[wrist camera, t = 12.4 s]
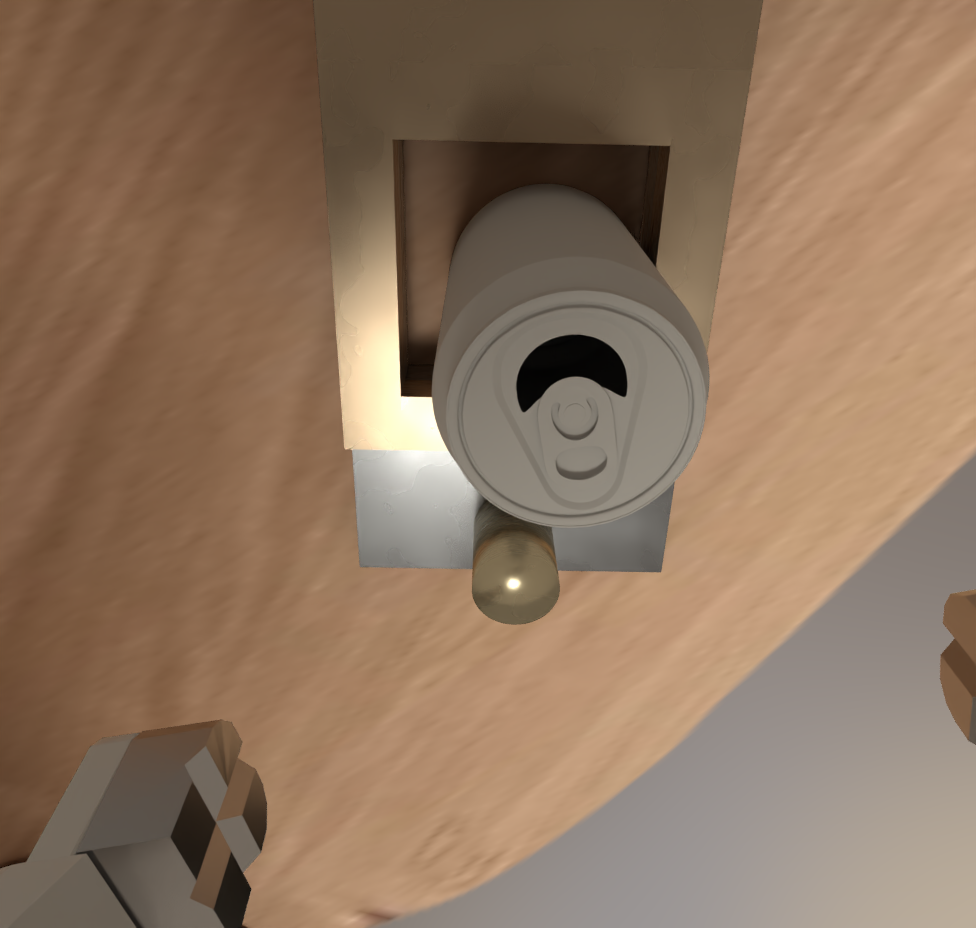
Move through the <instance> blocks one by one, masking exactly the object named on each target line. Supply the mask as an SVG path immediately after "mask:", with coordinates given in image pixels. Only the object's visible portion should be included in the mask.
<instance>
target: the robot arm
mask: <svg viewBox="0 0 976 928" xmlns="http://www.w3.org/2000/svg"><path fill="white" fill-rule="evenodd" d="M943 624H944V625H945V627H946V628H947V629H948V630H949V632H950V633H951V634H952V635H953V637H954V638H955V639H954V640H953V641H952V642H951V643H950V645H949V646H948V647H947V648H946V649H945V650H944V652H943V653H942V654H941V660H940V680H941V684H942V688H943V692H944V696H945V700H946V703H947V706H948V708H949V710H950V712H951V714H952V716H953V718H954V720H955V722H956V723H957V725H958V726H959V728H960V729H961V731H962V732H963V733H964V735H965V736H966V738H967V739H968V740H969V741H970V742H972V743H974V744H975V745H976V589H975V590H970V591H964V592H958V593H953V594H950V596H949V598H948V600H947V601H946V603H945V606H944V617H943ZM241 745H242V740H241V738H240V737H239V735H238V733H237V731H236V729H235V727H234V726H233V724H232V722H229V721H225V720H215V721H208V722H202V723H195V724H188V725H181V726H174V727H168V728H161V729H154V730H147V731H142V732H141V733H133V734H126V735H119V736H112V737H105V738H102V739H100V740H99V741H97V742H96V743H95V744H93V745H92V746H90V748H89V750H88V751H87V753H86V755H85V757H84V759H83V760H82V762H81V764H80V766H79V768H78V769H77V771H76V773H75V775H74V777H73V778H72V780H71V782H70V784H69V786H68V787H67V789H66V791H65V793H64V795H63V796H62V798H61V800H60V802H59V804H58V806H57V807H56V809H55V811H54V813H53V815H52V816H51V818H50V820H49V822H48V824H47V825H46V827H45V829H44V831H43V833H42V834H41V836H40V838H39V840H38V842H37V843H36V845H35V847H34V849H33V851H32V852H31V854H30V856H29V858H28V860H27V861H26V862H24V863H19V864H14V865H10V866H7V867H3V868H0V928H241V926H242V922H243V919H244V915H245V911H246V907H247V904H248V900H249V896H250V892H251V887H250V885H249V884H248V882H247V880H246V878H245V876H244V874H243V872H244V871H245V870H246V869H247V868H248V867H249V866H250V864H251V863H252V862H253V861H254V860H255V859H256V858H257V856H258V855H259V854H260V853H261V850H262V846H263V842H264V838H265V834H266V830H267V801H266V797H265V792H264V788H263V784H262V782H261V779H260V777H259V775H258V773H257V771H256V769H255V768H253V767H251V766H250V765H248V764H246V763H245V762H243V761H241V760H240V759H238V755H239V752H240V749H241Z"/></svg>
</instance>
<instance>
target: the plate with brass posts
mask: <svg viewBox="0 0 976 928" xmlns="http://www.w3.org/2000/svg"><path fill="white" fill-rule="evenodd" d="M762 3H763V0H313V7H314V21H315V35H316V50H317V64H318V78H319V93H320V107H321V121H322V135H323V150H324V164H325V178H326V193H327V207H328V221H329V236H330V250H331V264H332V279H333V293H334V307H335V322H336V336H337V350H338V365H339V379H340V393H341V408H342V422H343V436H344V449H352V454H353V470H354V485H355V501H356V516H357V531H358V547H359V562H360V567H389V568H446V569H473V572H472V594H473V599H474V601H475V603H476V605H477V607H478V608H479V609H480V610H481V611H482V612H483V613H484V614H485V615H486V616H488V617H489V618H491V619H493V620H495V621H498V622H501V623H505V624H514V625H516V624H526V623H530V622H533V621H536V620H538V619H540V618H541V617H543V616H545V615H546V614H547V613H548V612H549V611H550V610H551V609H552V608H553V607H554V605H555V604H556V602H557V600H558V597H559V592H560V584H559V577H558V570H561V571H619V572H661V569H662V563H663V556H664V549H665V543H666V536H667V530H668V523H669V516H670V510H671V503H672V496H673V490H674V483H675V482H674V483H673V484H672V485H671V486H670V487H669V488H668V489H667V490H666V491H665V492H664V493H662V494H661V495H660V496H659V497H658V498H656V499H655V500H653V501H652V502H651V503H649V504H648V505H646V506H644V507H643V508H641V509H639V510H638V511H636V512H634V513H632V514H630V515H628V516H625V517H623V518H620V519H617V520H615V521H612V522H608V523H604V524H600V525H595V526H590V527H578V528H560V527H550V526H544V525H539V524H535V523H532V522H528V521H525V520H522V519H520V518H517V517H515V516H513V515H510V514H508V513H506V512H505V511H503V510H501V509H499V508H498V507H496V506H495V505H493V504H492V503H490V502H489V501H488V500H487V499H485V498H484V497H483V496H482V495H481V494H480V493H479V492H478V491H477V490H476V489H475V488H474V487H473V486H472V485H471V484H470V482H469V481H468V480H467V478H466V477H465V476H464V474H463V472H462V471H461V469H460V467H459V466H458V464H457V463H456V462H455V460H454V459H453V457H452V456H451V454H450V453H449V451H448V449H447V448H446V446H445V444H444V442H443V440H442V438H441V435H440V432H439V430H438V427H437V424H436V420H435V417H434V411H433V403H432V378H433V370H434V365H409V364H408V326H407V288H406V250H405V212H404V174H403V140H440V141H483V142H526V143H568V144H611V145H650V153H649V162H648V171H647V181H646V190H645V199H644V208H643V217H642V226H641V235H640V245H639V246H640V247H641V249H642V250H643V251H644V253H645V254H646V255H647V257H648V258H649V259H650V261H651V262H652V263H653V265H654V266H655V267H656V269H657V270H658V271H659V273H660V274H661V275H662V277H663V278H664V279H665V281H666V282H667V283H668V285H669V286H670V287H671V289H672V290H673V291H674V293H675V294H676V295H677V297H678V298H679V299H680V301H681V302H682V303H683V305H684V306H685V307H686V309H687V310H688V312H689V313H690V315H691V316H692V318H693V320H694V322H695V323H696V325H697V327H698V329H699V331H700V334H701V337H702V339H703V342H704V345H705V349H706V353H707V350H708V344H709V338H710V331H711V325H712V319H713V312H714V306H715V300H716V294H717V287H718V281H719V275H720V268H721V262H722V256H723V249H724V243H725V237H726V230H727V224H728V218H729V211H730V205H731V199H732V193H733V186H734V180H735V174H736V167H737V161H738V155H739V148H740V142H741V136H742V129H743V123H744V117H745V111H746V104H747V98H748V92H749V85H750V79H751V73H752V66H753V60H754V54H755V47H756V41H757V35H758V29H759V22H760V16H761V10H762Z"/></svg>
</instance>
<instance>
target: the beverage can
mask: <svg viewBox="0 0 976 928" xmlns="http://www.w3.org/2000/svg"><path fill="white" fill-rule="evenodd" d="M708 392H709V365H708V357H707V353H706V349H705V345H704V342H703V339H702V337H701V334H700V331H699V329H698V327H697V325H696V323H695V322H694V320H693V318H692V316H691V315H690V313H689V312H688V310H687V309H686V307H685V306H684V305H683V303H682V302H681V301H680V299H679V298H678V297H677V295H676V294H675V293H674V291H673V290H672V289H671V287H670V286H669V285H668V283H667V282H666V281H665V279H664V278H663V277H662V275H661V274H660V273H659V271H658V270H657V269H656V267H655V266H654V265H653V263H652V262H651V261H650V259H649V258H648V257H647V255H646V254H645V253H644V251H643V250H642V249H641V247H640V246H639V245H638V243H637V242H636V241H635V239H634V238H633V237H632V235H631V234H630V233H629V231H628V230H627V229H626V227H625V226H624V224H623V223H622V222H621V221H620V219H619V218H618V217H617V216H616V215H615V213H614V212H613V211H612V210H611V209H610V208H609V207H608V206H606V205H605V204H604V203H603V202H601V201H600V200H599V199H597V198H596V197H594V196H592V195H590V194H588V193H585V192H583V191H580V190H578V189H575V188H572V187H569V186H565V185H558V184H534V185H528V186H524V187H520V188H517V189H513V190H511V191H508V192H506V193H504V194H502V195H500V196H498V197H497V198H495V199H494V200H492V201H491V202H489V203H488V204H487V205H485V206H484V207H483V208H482V209H481V210H480V211H479V212H478V213H477V214H476V215H475V216H474V217H473V218H472V219H471V220H470V222H469V223H468V224H467V226H466V227H465V229H464V230H463V232H462V234H461V236H460V238H459V240H458V242H457V244H456V247H455V249H454V252H453V256H452V260H451V264H450V270H449V276H448V283H447V289H446V295H445V301H444V307H443V314H442V320H441V326H440V332H439V339H438V345H437V351H436V357H435V364H434V370H433V378H432V403H433V411H434V417H435V420H436V424H437V427H438V430H439V432H440V435H441V438H442V440H443V442H444V444H445V446H446V448H447V449H448V451H449V453H450V454H451V456H452V457H453V459H454V460H455V462H456V463H457V464H458V466H459V467H460V469H461V471H462V472H463V474H464V476H465V477H466V478H467V480H468V481H469V482H470V484H471V485H472V486H473V487H474V488H475V489H476V490H477V491H478V492H479V493H480V494H481V495H482V496H483V497H484V498H485V499H487V500H488V501H489V502H490V503H492V504H493V505H495V506H496V507H498V508H499V509H501V510H503V511H505V512H506V513H508V514H510V515H513V516H515V517H517V518H520V519H522V520H525V521H528V522H532V523H535V524H539V525H544V526H550V527H560V528H578V527H590V526H595V525H600V524H604V523H608V522H612V521H615V520H617V519H620V518H623V517H625V516H628V515H630V514H632V513H634V512H636V511H638V510H639V509H641V508H643V507H644V506H646V505H648V504H649V503H651V502H652V501H653V500H655V499H656V498H658V497H659V496H660V495H661V494H662V493H664V492H665V491H666V490H667V489H668V488H669V487H670V486H671V485H672V484H673V483H674V482H675V481H676V479H677V478H678V477H679V476H680V475H681V473H682V472H683V471H684V469H685V468H686V466H687V465H688V463H689V461H690V460H691V458H692V456H693V454H694V452H695V450H696V448H697V446H698V443H699V440H700V437H701V434H702V431H703V426H704V421H705V414H706V404H707V399H708Z"/></svg>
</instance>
